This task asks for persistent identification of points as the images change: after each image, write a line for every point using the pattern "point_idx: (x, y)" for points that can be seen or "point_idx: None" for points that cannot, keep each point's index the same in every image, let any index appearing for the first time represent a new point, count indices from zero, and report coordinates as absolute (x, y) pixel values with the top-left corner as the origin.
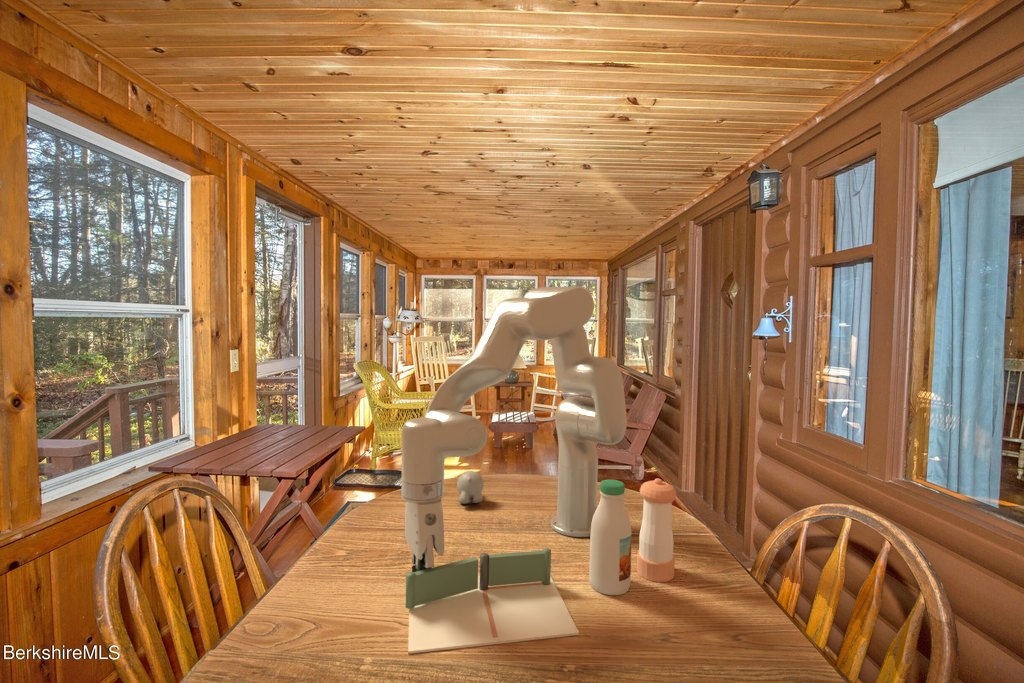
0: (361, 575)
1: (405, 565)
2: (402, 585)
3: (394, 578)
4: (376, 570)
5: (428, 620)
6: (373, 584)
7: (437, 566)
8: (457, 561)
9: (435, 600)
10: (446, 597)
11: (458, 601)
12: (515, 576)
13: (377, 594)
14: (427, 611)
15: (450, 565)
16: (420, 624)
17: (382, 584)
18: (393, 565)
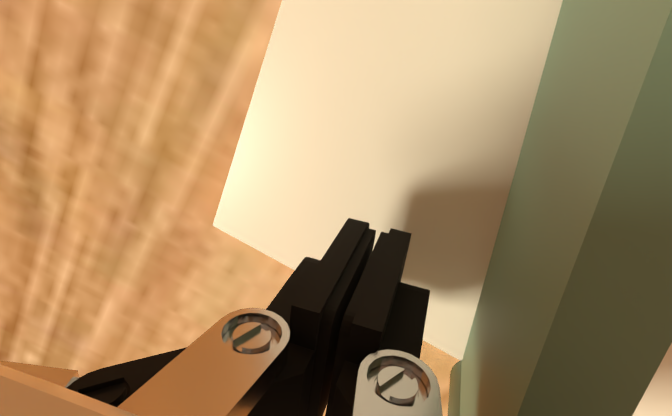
0: (86, 344)
1: (51, 155)
2: (228, 262)
3: (153, 259)
4: (64, 284)
5: (666, 361)
6: (168, 346)
7: (530, 391)
8: (641, 81)
9: (500, 222)
10: (522, 143)
11: None
12: None
13: None
14: None
15: (665, 259)
16: (661, 407)
17: (182, 322)
18: (39, 205)
